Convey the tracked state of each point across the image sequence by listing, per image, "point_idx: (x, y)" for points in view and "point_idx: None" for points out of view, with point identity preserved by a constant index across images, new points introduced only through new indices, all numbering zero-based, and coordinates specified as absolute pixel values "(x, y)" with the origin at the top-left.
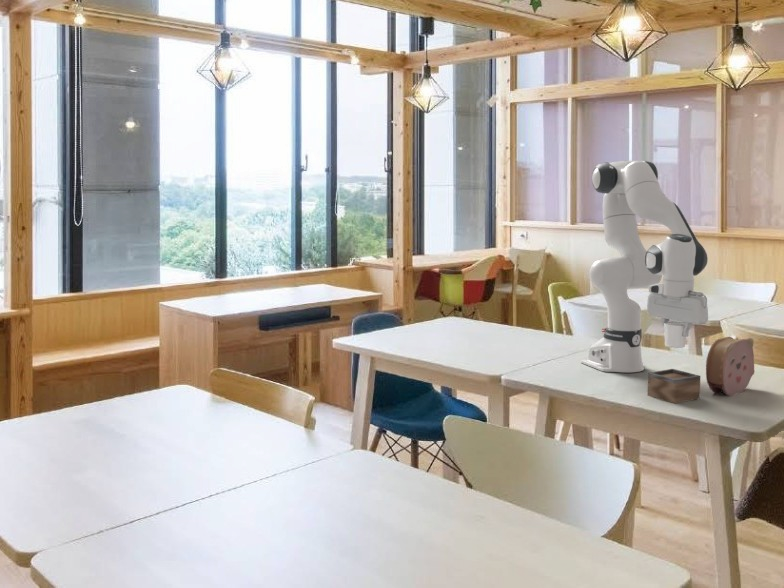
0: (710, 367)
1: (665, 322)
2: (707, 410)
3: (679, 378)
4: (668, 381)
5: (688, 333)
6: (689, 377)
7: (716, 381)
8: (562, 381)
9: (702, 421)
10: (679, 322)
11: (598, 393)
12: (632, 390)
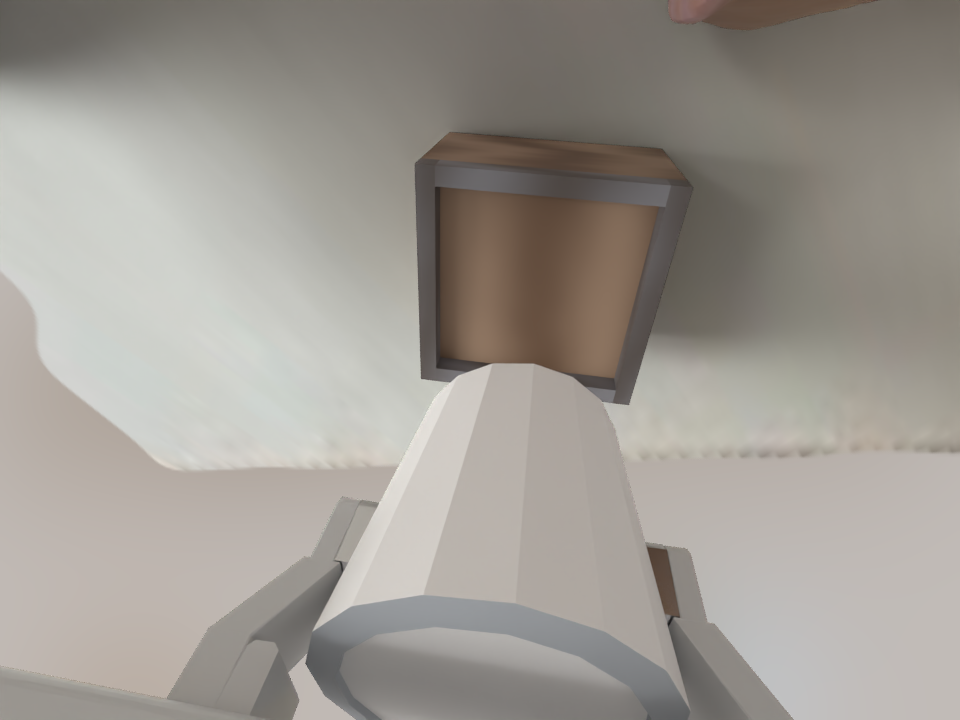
0: (735, 6)
1: (347, 709)
2: (795, 317)
3: (572, 282)
4: None
5: (696, 580)
6: (654, 294)
7: (779, 23)
8: (131, 392)
9: (831, 453)
10: (436, 620)
11: (331, 424)
12: (350, 297)
